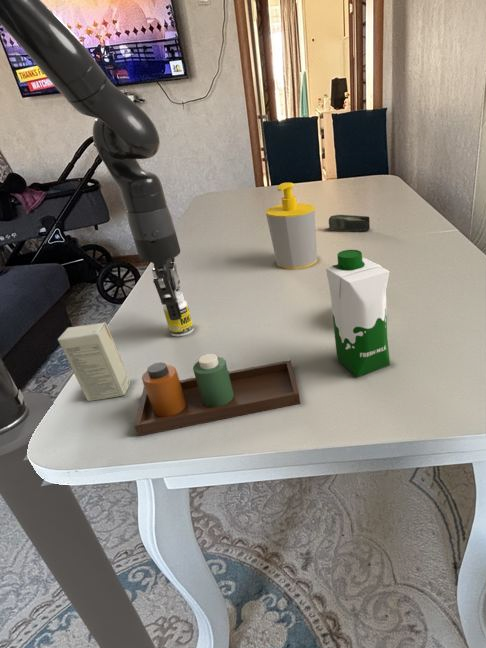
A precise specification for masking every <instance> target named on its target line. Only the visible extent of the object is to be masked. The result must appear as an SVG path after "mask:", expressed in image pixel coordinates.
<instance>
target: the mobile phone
mask: <svg viewBox="0 0 486 648" xmlns="http://www.w3.org/2000/svg"><path fill="white" fill-rule="evenodd" d="M370 221H371V220H370V216H367V215H352V214H351V215H350V214H335V215H331V216H330V217H329V218H328V227H325V228H324V231H337V232H368V231H370V228H371V227H370V225H371V224H370Z"/></svg>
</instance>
